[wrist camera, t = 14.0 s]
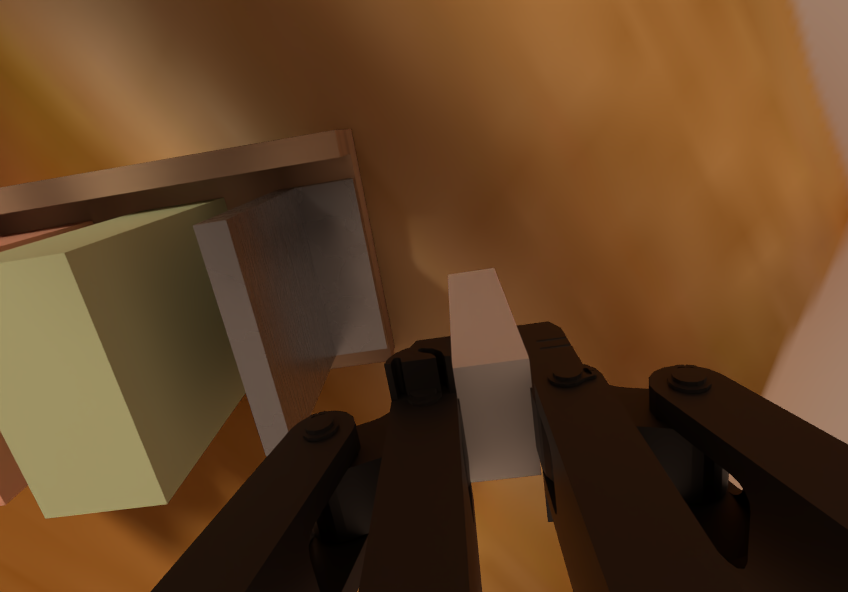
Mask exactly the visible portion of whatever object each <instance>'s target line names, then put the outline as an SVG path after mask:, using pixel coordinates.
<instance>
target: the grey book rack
mask: <svg viewBox="0 0 848 592" xmlns="http://www.w3.org/2000/svg"><path fill="white" fill-rule="evenodd" d="M353 177H355V181H356V186H357V191H358V196H359V200H360V205H361V210H362V215H363V220H364V225H365V230H366V235H367V240H368V245H369V250H370V255H371V260H372V265H373V269H374V274H375V279H376V284H377V289H378V294H379V299H380V304H381V309H382V314H383V319H384V324H385V329H386V334H387V339H388V347H387V349H379V350H372V351H365V352H358V353H351V354H343V355H336V357H335V359H334V362H333V364H332V366H331V369H333V368H341V367H348V366H355V365H363V364H370V363H377V362H385V361H387V359H388V358H389V357H391V356H392V355H393V354H394V348H395V347H394V342H393V337H392V332H391V327H390V322H389V317H388V312H387V307H386V302H385V296H384V291H383V286H382V281H381V276H380V271H379V266H378V261H377V256H376V251H375V246H374V241H373V236H372V231H371V226H370V221H369V216H368V211H367V206H366V201H365V196H364V191H363V186H362V181H361V176H360V171H359V166H358V161H357V156H356V151H355V146H354V141H353V136H352V131H351V129H342V130H331V131H326V132H320V133H314V134H308V135H302V136H297V137H291V138H285V139H279V140H273V141H268V142H262V143H256V144H250V145H244V146H239V147H233V148H227V149H221V150H216V151H210V152H204V153H198V154H192V155H187V156H181V157H175V158H169V159H163V160H158V161H152V162H146V163H140V164H134V165H129V166H123V167H117V168H111V169H106V170H100V171H94V172H88V173H82V174H77V175H71V176H65V177H59V178H53V179H48V180H42V181H36V182H30V183H24V184H19V185H13V186H7V187H1V188H0V236H1V235H7V234H13V233H19V232H25V231H31V230H37V229H43V228H49V227H55V226H61V225H67V224H73V223H79V222H86V221H93V224H97V223H101V222H104V221H107V220H111V219H114V218H118V217H121V216H124V215H128V214H131V213H135V212H138V211H143V210H149V209H156V208H162V207H168V206H174V205H180V204H186V203H192V202H198V201H204V200H211V199H217V198H223V197H224V199H225V203H226V206H227V210H231V209H233V208H235V207H238V206H240V205H243V204H245V203H247V202H250V201H252V200H255V199H257V198H259V197H262V196H264V195H266V194H269V193H271V192H274V191H276V190H280V189H286V188H293V187H299V186H305V185H311V184H317V183H323V182H329V181H335V180H341V179H347V178H353Z"/></svg>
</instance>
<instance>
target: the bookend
mask: <svg viewBox="0 0 848 592" xmlns="http://www.w3.org/2000/svg"><path fill="white" fill-rule="evenodd" d="M193 228H194V231H195V235H196V238H197V241H198V244H199V247H200V250H201V253H202V257H203V260H204V263H205V266H206V269H207V272H208V275H209V279H210V282H211V285H212V288H213V291H214V294H215V297H216V301H217V304H218V307H219V310H220V313H221V316H222V319H223V323H224V326H225V329H226V332H227V335H228V338H229V341H230V345H231V348H232V351H233V354H234V357H235V360H236V363H237V367H238V370H239V373H240V376H241V379H242V382H243V385H244V389H245V392H246V395H247V398H248V401H249V404H250V408H251V411H252V414H253V417H254V420H255V423H256V426H257V430H258V433H259V436H260V439H261V442H262V445H263V448H264V452H265V455H266V456H268V455H269V454H270V453H271V451H272V450H273V449H274V448H275V447H276V446H277V445H278V443H279V442H280V441H281V440H282V439H283V438H284V436H285V435H286V434H287V433H288V432H289V431H290V429H291V428H293V427H294V426H295V425H296V424H297V423H298V422H300V421H302V420H304V419H306V418H307V417H309V416H310V415H311V413H312V411H313V409H314V406H315V404H316V401H317V399H318V397H319V394H320V392H321V390H322V387H323V385H324V383H325V380H326V378H327V376H328V373H329V371H330V369H331V366H332V364H333V362H334V359H335V357H336V355H343V354H351V353H358V352H365V351H372V350H379V349H387V347H388V339H387V334H386V329H385V324H384V319H383V314H382V309H381V304H380V299H379V294H378V289H377V284H376V279H375V274H374V269H373V265H372V260H371V255H370V250H369V245H368V240H367V235H366V230H365V225H364V220H363V215H362V210H361V205H360V200H359V196H358V191H357V186H356V181H355V177H353V178H347V179H341V180H335V181H329V182H323V183H317V184H311V185H305V186H299V187H293V188H286V189H280V190H276V191H274V192H271V193H269V194H266V195H264V196H262V197H259V198H257V199H255V200H252V201H250V202H247V203H245V204H243V205H240V206H238V207H235V208H233V209H231V210H228V211H226V212H224V213H221V214H219V215H216V216H214V217H212V218H209V219H207V220H204V221H202V222H200V223H197V224H195V225H193Z"/></svg>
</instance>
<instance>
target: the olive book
mask: <svg viewBox="0 0 848 592" xmlns="http://www.w3.org/2000/svg"><path fill="white" fill-rule="evenodd" d="M226 211H228V210H227V206H226V203H225V199H224V197H223V198H217V199H211V200H204V201H198V202H192V203H186V204H180V205H174V206H168V207H162V208H156V209H149V210H143V211H138V212H135V213H131V214H128V215H124V216H121V217H118V218H114V219H111V220H107V221H104V222H101V223H97V224H94V225H91V226H87V227H84V228H80V229H77V230H74V231H70V232H67V233H63V234H60V235H57V236H53V237H50V238H46V239H43V240H40V241H36V242H33V243H30V244H26V245H23V246H19V247H16V248H13V249H9V250H6V251H2V252H0V431H1V433H2V435H3V437H4V439H5V441H6V443H7V445H8V447H9V449H10V451H11V453H12V455H13V457H14V459H15V460H16V462H17V464H18V466H19V468H20V470H21V472H22V474H23V476H24V478H25V480H26V482H27V484H28V486H29V488H30V490H31V491H32V493H33V495H34V497H35V499H36V501H37V503H38V505H39V507H40V509H41V511H42V513H43V515H44V517H45V519H46V518H54V517H63V516H71V515H80V514H88V513H96V512H105V511H113V510H122V509H130V508H139V507H147V506H156V505H164V504H168V502H169V501H170V500H171V498H172V497H173V495H174V494H175V492H176V491H177V490H178V488H179V487H180V485H181V484H182V483H183V481H184V480H185V478H186V477H187V475H188V474H189V473H190V471H191V470H192V468H193V467H194V465H195V464H196V463H197V461H198V460H199V458H200V457H201V456H202V454H203V453H204V451H205V450H206V448H207V447H208V446H209V444H210V443H211V441H212V440H213V438H214V437H215V436H216V434H217V433H218V431H219V430H220V429H221V427H222V426H223V424H224V423H225V421H226V420H227V419H228V417H229V416H230V414H231V413H232V412H233V410H234V409H235V407H236V406H237V404H238V403H239V402H240V400H241V399H242V397H243V396H244V394H245V393H246V392H245V389H244V385H243V382H242V379H241V376H240V373H239V370H238V367H237V363H236V360H235V357H234V354H233V351H232V348H231V345H230V341H229V338H228V335H227V332H226V329H225V326H224V323H223V319H222V316H221V313H220V310H219V307H218V304H217V301H216V297H215V294H214V291H213V288H212V285H211V282H210V279H209V275H208V272H207V269H206V266H205V263H204V260H203V257H202V253H201V250H200V247H199V244H198V241H197V238H196V235H195V231H194V228H193V225H195V224H197V223H200V222H202V221H204V220H207V219H209V218H212V217H214V216H216V215H219V214H221V213H224V212H226Z"/></svg>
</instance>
